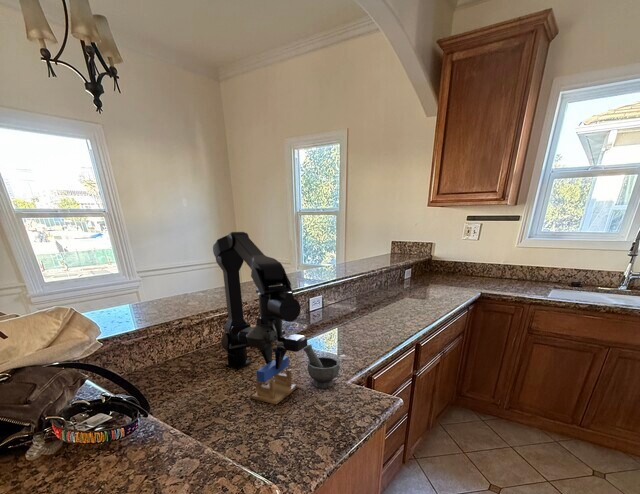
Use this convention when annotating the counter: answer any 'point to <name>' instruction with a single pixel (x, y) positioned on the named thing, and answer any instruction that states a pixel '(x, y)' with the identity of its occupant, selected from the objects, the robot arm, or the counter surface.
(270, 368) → the blue rectangular block
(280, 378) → the holder
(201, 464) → the counter surface
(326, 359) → the mortar and pestle
